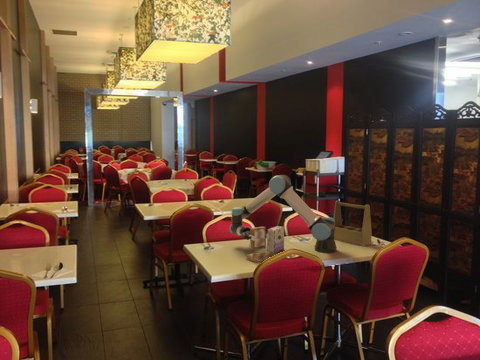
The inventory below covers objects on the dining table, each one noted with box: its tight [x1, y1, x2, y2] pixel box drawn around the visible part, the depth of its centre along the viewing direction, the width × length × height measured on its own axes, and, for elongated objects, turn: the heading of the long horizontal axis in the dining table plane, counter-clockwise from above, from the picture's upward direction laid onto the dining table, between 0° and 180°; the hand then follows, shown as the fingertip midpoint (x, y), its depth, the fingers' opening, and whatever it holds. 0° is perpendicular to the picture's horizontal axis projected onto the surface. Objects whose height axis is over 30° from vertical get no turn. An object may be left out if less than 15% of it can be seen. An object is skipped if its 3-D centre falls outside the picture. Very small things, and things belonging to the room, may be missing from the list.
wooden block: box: [249, 226, 267, 251], centre depth 298 cm, size 10×4×14 cm, turn 120°
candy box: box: [266, 225, 285, 255], centre depth 308 cm, size 14×6×16 cm, turn 145°
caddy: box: [332, 200, 373, 247], centre depth 337 cm, size 29×11×30 cm, turn 37°
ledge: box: [246, 251, 273, 263], centre depth 288 cm, size 14×8×5 cm, turn 120°
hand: (261, 237), depth 294 cm, fingers closed on wooden block, 10 cm apart
